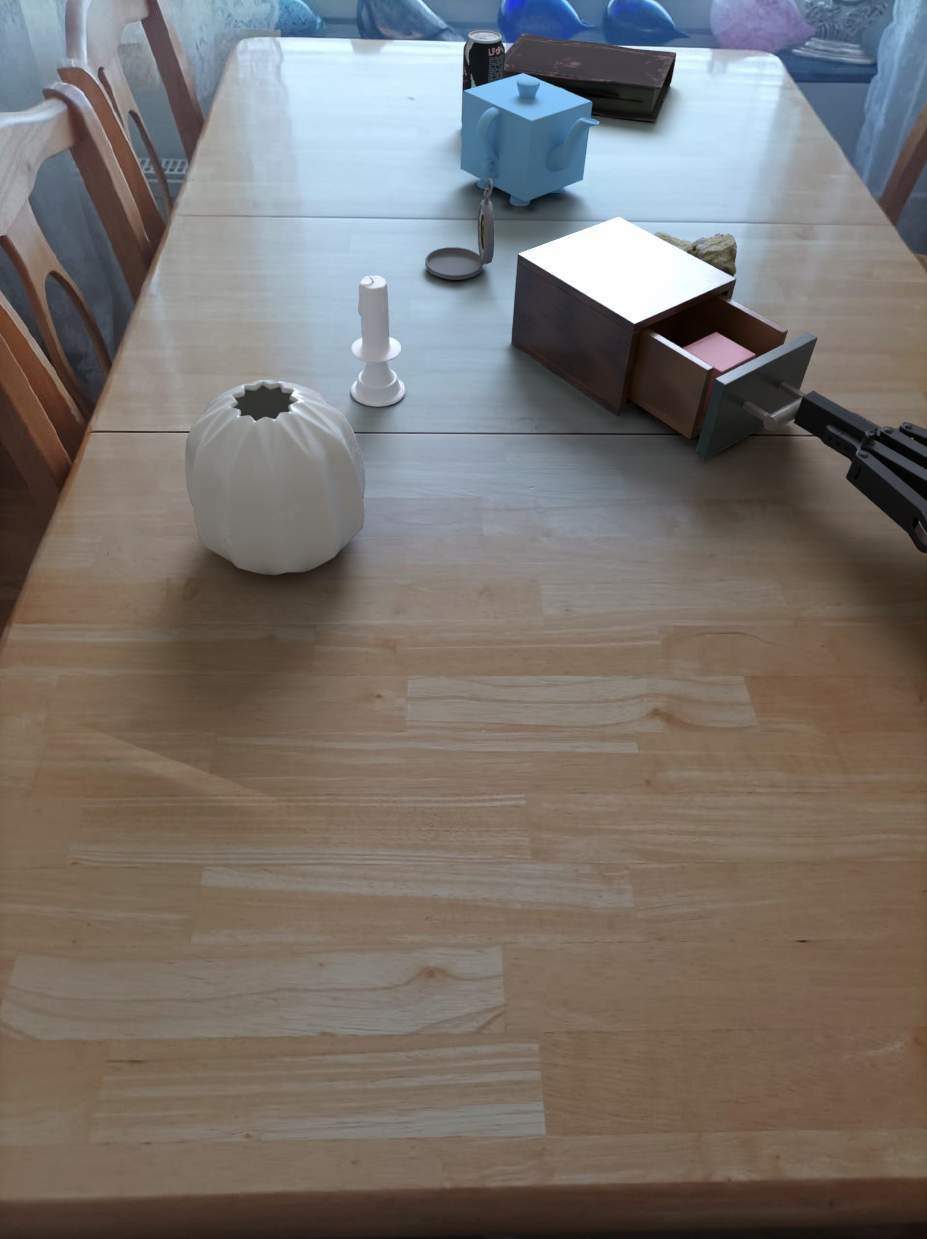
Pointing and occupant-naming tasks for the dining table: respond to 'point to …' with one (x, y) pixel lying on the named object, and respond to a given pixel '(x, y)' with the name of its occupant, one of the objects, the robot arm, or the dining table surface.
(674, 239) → the rock
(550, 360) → the cabinet
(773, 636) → the dining table surface
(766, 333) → the drawer
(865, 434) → the robot arm
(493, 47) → the beverage can
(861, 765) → the dining table surface
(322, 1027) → the dining table surface
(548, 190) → the teapot
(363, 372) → the candle
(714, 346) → the block
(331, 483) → the vase
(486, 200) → the pocket watch
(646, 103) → the diary
